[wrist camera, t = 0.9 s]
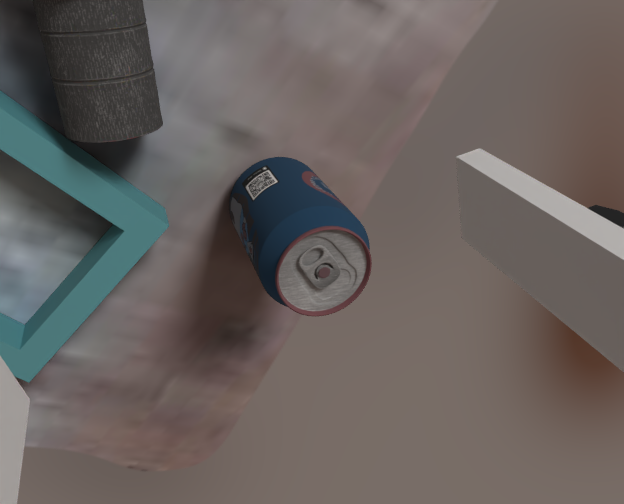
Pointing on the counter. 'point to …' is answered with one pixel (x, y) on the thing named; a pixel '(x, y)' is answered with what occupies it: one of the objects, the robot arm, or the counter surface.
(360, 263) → the soda can
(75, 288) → the teal square frame
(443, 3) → the counter surface
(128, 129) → the laser sight
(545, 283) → the robot arm
